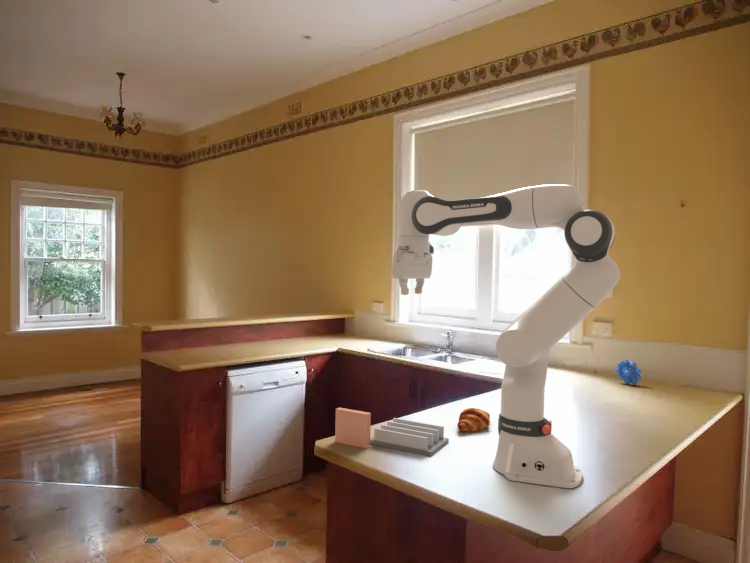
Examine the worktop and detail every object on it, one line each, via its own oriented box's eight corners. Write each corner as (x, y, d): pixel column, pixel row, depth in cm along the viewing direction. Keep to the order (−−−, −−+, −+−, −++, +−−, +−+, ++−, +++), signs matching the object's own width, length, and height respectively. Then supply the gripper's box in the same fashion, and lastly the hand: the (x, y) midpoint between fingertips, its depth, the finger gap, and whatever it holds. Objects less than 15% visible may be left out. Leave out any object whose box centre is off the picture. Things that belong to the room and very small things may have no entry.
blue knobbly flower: (612, 384, 249) (613, 359, 249) (615, 381, 254) (616, 357, 254) (639, 387, 242) (640, 362, 242) (642, 385, 248) (643, 360, 247)
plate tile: (370, 446, 155) (370, 412, 155) (366, 448, 153) (367, 414, 153) (338, 440, 160) (339, 407, 160) (335, 441, 158) (335, 408, 158)
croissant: (479, 428, 187) (470, 406, 189) (504, 419, 182) (494, 397, 184) (452, 442, 170) (443, 418, 172) (478, 433, 164) (468, 408, 167)
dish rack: (448, 442, 160) (448, 426, 160) (430, 456, 148) (431, 439, 148) (390, 431, 170) (390, 416, 169) (368, 443, 157) (369, 427, 157)
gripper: (407, 245, 142) (406, 296, 143) (436, 248, 160) (434, 293, 161) (387, 245, 145) (385, 294, 146) (417, 248, 163) (415, 292, 164)
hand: (411, 294), depth 153 cm, fingers open, 8 cm apart
